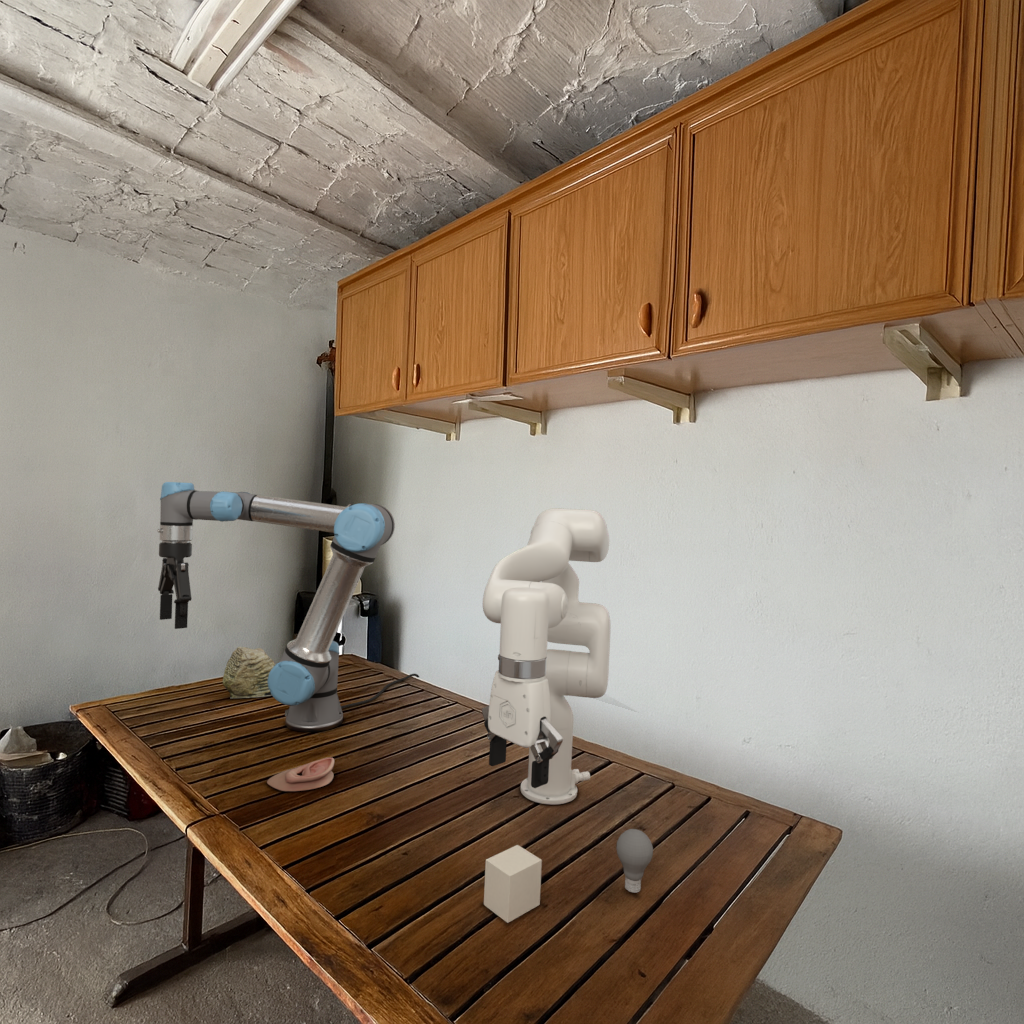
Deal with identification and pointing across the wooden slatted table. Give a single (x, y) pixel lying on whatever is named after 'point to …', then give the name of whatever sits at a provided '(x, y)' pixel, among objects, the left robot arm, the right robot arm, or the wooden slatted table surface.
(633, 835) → the light bulb
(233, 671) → the fossil
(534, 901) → the brick
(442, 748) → the wooden slatted table surface
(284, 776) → the anatomical model
